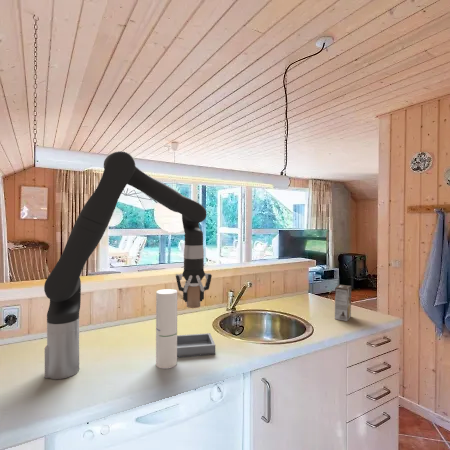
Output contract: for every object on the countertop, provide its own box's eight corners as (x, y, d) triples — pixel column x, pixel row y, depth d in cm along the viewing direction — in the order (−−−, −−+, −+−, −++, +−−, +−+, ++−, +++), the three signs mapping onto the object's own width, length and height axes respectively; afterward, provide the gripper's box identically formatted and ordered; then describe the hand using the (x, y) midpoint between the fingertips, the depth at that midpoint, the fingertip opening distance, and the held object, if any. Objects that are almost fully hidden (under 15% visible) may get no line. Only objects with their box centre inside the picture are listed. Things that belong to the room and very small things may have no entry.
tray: (174, 357, 112) (174, 348, 112) (172, 344, 124) (172, 335, 123) (215, 354, 115) (215, 345, 115) (210, 341, 127) (210, 333, 127)
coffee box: (338, 314, 165) (338, 284, 164) (351, 316, 161) (351, 285, 161) (334, 319, 157) (334, 287, 156) (347, 321, 153) (348, 289, 153)
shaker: (187, 308, 116) (187, 284, 115) (186, 304, 121) (186, 281, 121) (201, 307, 117) (201, 283, 116) (199, 303, 122) (199, 280, 122)
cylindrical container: (167, 356, 112) (168, 288, 112) (181, 362, 108) (181, 291, 107) (151, 364, 107) (151, 291, 106) (165, 370, 102) (165, 295, 102)
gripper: (175, 258, 113) (174, 304, 114) (214, 257, 116) (213, 303, 116) (174, 255, 120) (174, 299, 121) (210, 255, 123) (210, 297, 124)
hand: (193, 301), depth 119 cm, fingers closed on shaker, 5 cm apart
